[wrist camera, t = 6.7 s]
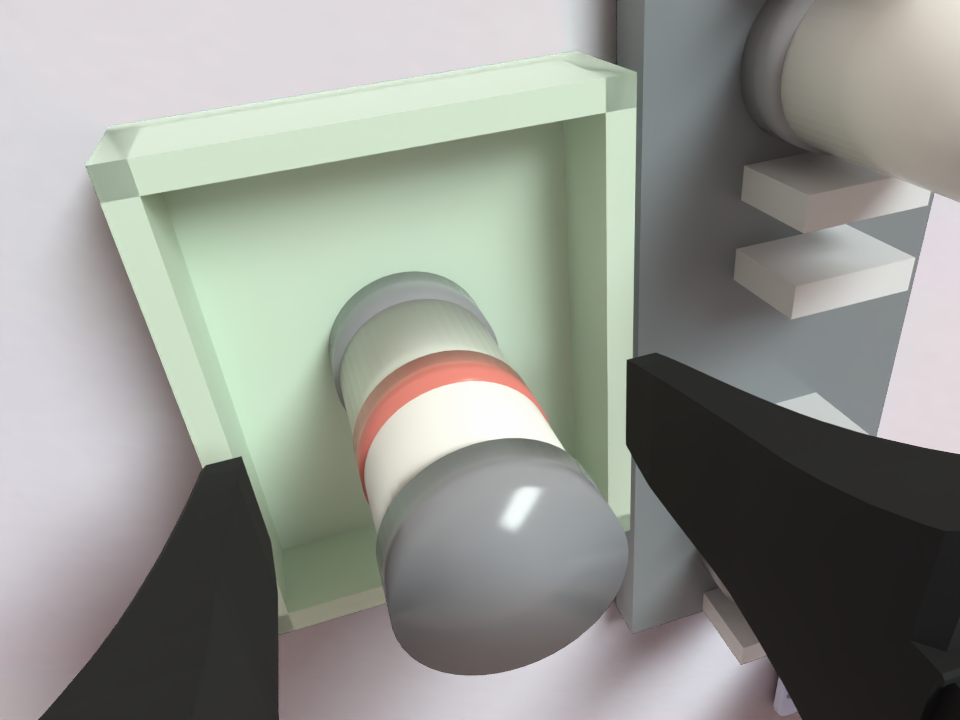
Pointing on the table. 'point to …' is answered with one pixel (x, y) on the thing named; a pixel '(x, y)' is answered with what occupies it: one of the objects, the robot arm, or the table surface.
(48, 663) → the table surface
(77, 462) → the table surface
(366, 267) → the tray
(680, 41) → the clip board
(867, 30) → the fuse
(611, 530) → the marked fuse
